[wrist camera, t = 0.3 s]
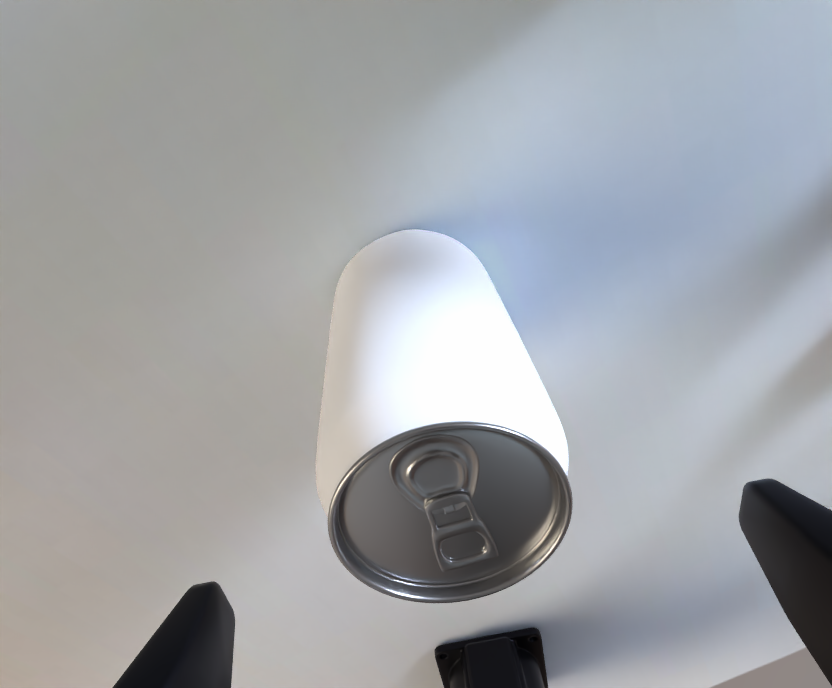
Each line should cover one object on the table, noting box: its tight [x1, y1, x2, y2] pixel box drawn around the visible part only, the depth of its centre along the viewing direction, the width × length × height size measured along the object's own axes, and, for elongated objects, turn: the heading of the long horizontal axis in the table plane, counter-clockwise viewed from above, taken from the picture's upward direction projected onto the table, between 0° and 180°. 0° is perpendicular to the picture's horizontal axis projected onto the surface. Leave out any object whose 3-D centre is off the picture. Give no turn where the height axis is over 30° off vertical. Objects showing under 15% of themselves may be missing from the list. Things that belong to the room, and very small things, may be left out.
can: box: [315, 229, 572, 603], centre depth 18 cm, size 6×6×12 cm
